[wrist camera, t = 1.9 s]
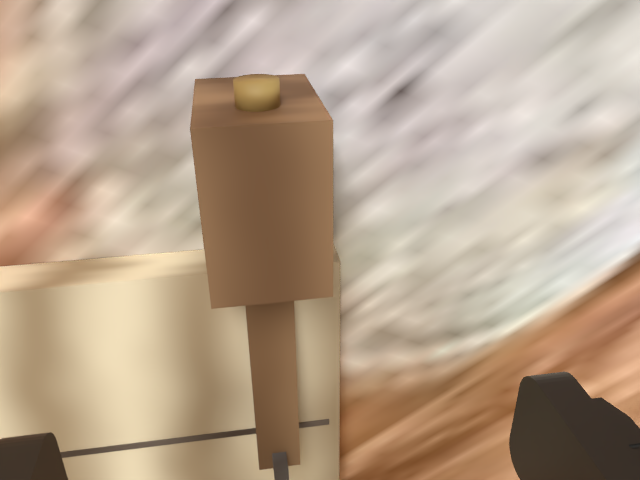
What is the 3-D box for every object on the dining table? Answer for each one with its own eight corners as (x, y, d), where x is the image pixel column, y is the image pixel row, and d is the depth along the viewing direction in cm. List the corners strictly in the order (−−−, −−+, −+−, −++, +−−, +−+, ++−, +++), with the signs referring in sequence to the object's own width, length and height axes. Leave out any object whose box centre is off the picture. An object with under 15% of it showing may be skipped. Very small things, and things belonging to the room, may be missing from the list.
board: (331, 238, 26) (340, 262, 24) (332, 468, 32) (339, 501, 30) (-298, 291, 22) (-343, 323, 21) (-155, 534, 29) (-180, 574, 27)
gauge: (303, 51, 22) (332, 92, 17) (312, 399, 30) (333, 501, 25) (192, 56, 21) (186, 100, 16) (231, 409, 29) (235, 515, 24)
